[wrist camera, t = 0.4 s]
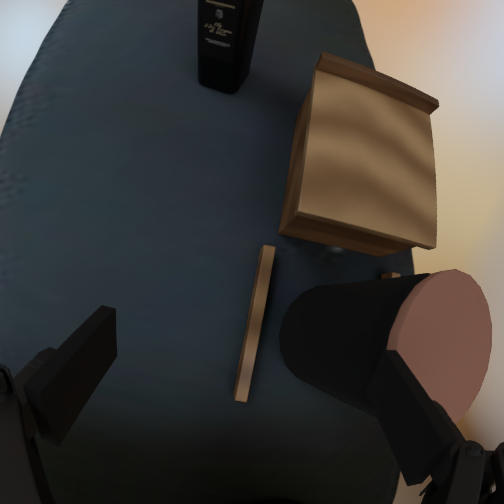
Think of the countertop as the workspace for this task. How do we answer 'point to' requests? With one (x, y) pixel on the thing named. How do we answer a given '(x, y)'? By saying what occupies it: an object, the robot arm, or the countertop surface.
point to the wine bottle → (226, 41)
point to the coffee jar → (392, 336)
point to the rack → (352, 177)
